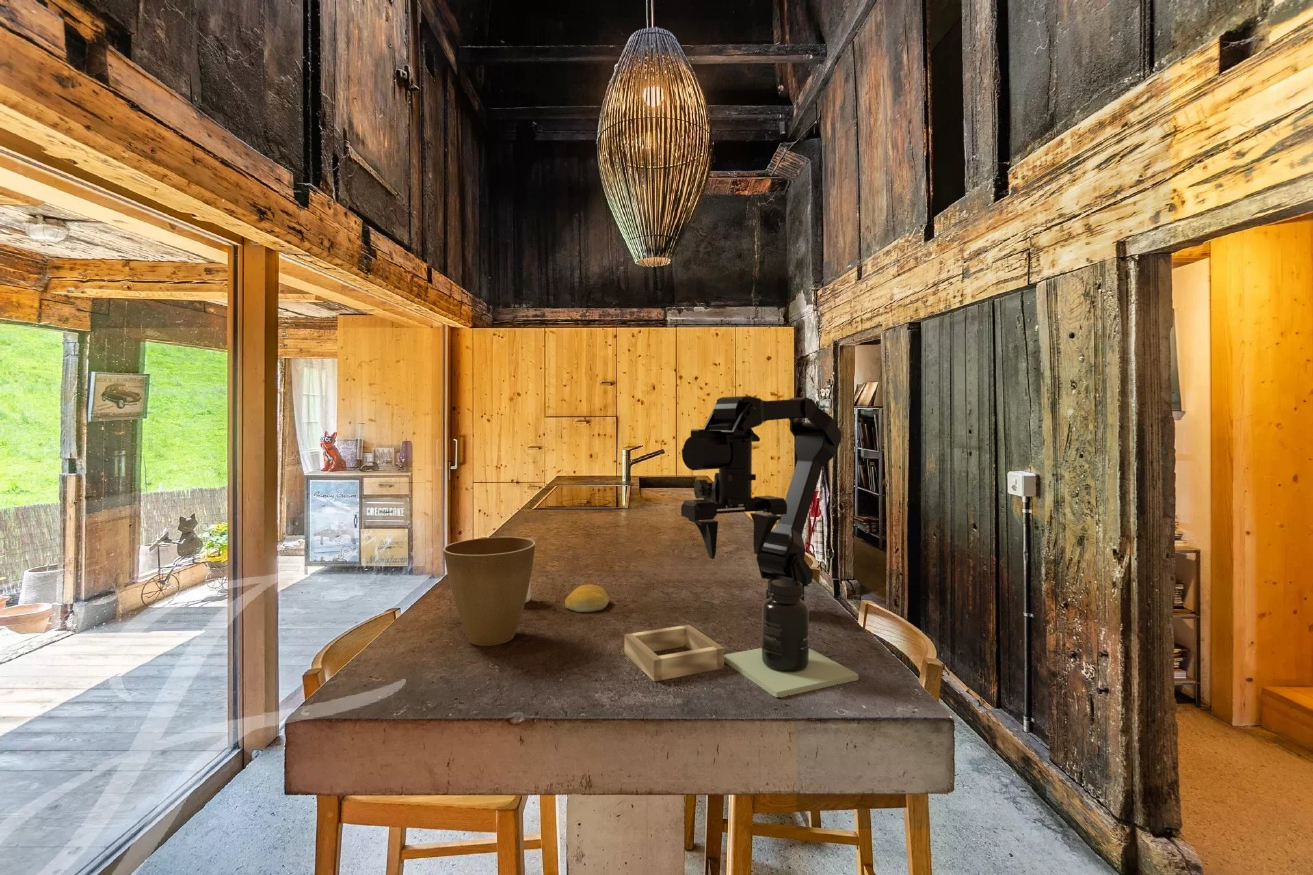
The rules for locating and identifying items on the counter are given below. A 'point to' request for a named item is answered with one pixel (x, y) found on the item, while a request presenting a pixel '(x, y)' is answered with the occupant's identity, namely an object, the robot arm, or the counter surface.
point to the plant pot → (490, 585)
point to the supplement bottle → (785, 627)
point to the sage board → (790, 673)
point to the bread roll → (587, 599)
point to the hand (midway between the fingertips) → (734, 556)
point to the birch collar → (668, 666)
